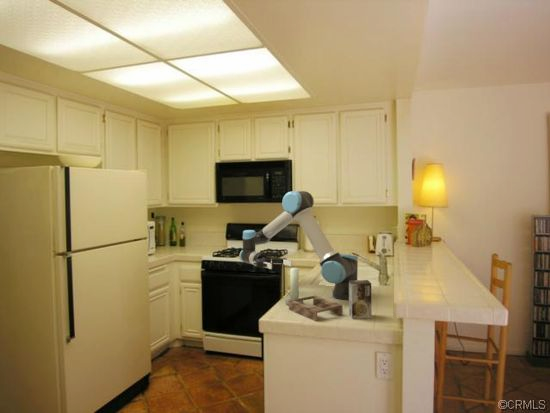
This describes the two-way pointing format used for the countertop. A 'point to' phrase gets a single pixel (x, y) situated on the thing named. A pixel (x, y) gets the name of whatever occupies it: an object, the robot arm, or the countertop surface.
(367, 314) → the coffee box
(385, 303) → the countertop surface
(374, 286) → the countertop surface
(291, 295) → the cream rod gray base
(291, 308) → the brown square frame
